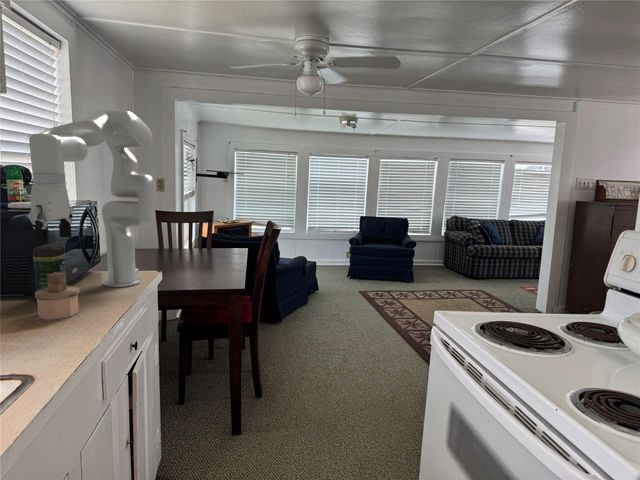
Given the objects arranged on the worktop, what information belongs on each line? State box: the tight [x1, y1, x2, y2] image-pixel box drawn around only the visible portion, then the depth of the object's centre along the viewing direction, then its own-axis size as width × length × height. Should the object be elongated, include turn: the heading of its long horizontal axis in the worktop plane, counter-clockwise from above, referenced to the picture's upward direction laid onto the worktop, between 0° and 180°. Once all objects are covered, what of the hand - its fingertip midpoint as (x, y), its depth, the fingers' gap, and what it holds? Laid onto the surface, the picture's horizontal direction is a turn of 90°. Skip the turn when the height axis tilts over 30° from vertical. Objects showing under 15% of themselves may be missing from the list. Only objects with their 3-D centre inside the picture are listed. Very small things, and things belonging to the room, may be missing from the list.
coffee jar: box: [32, 242, 68, 302], centre depth 130 cm, size 10×8×19 cm
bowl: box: [36, 294, 79, 320], centre depth 116 cm, size 9×9×6 cm
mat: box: [29, 309, 86, 322], centre depth 117 cm, size 10×10×1 cm
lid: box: [34, 272, 80, 300], centre depth 116 cm, size 11×11×6 cm
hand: (54, 240), depth 114 cm, fingers open, 9 cm apart
